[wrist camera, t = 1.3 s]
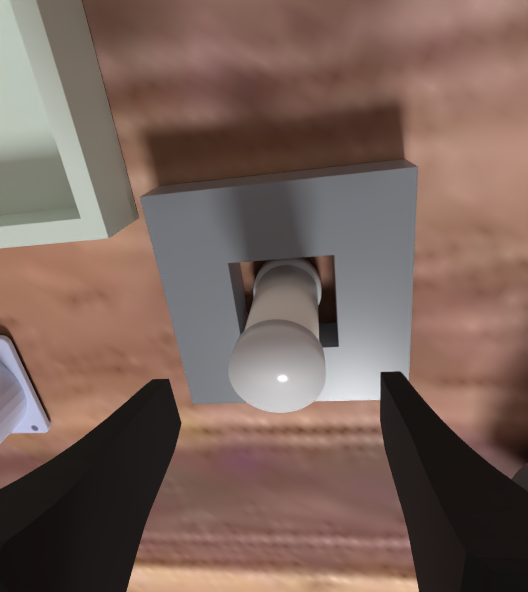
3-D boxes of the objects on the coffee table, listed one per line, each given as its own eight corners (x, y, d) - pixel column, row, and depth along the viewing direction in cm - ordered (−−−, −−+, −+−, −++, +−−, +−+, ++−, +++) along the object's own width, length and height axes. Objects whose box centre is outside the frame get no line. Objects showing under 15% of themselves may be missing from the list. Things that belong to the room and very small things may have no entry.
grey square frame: (203, 377, 25) (192, 404, 23) (159, 186, 20) (139, 196, 18) (398, 370, 23) (408, 399, 21) (404, 159, 18) (417, 166, 16)
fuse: (260, 315, 23) (236, 413, 16) (251, 257, 21) (220, 335, 14) (322, 312, 22) (328, 411, 15) (318, 251, 21) (322, 331, 13)
